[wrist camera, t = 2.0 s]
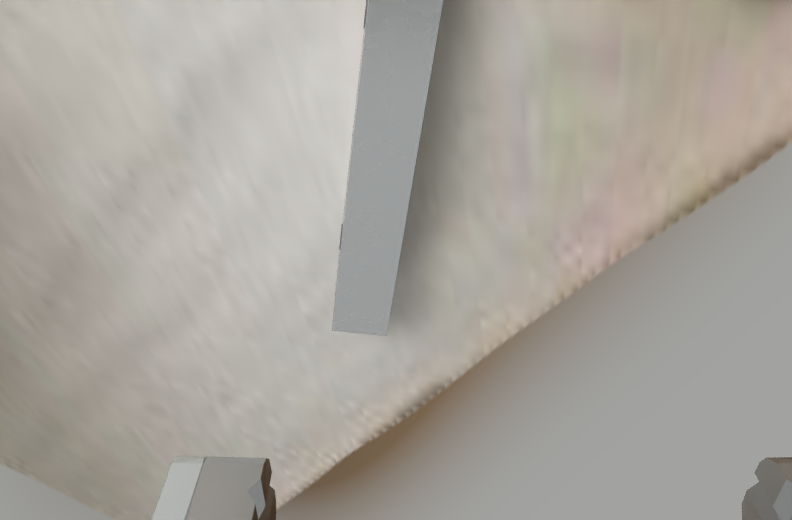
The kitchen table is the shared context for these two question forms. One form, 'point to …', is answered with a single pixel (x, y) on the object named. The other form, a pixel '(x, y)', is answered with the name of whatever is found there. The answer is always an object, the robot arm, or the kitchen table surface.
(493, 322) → the kitchen table surface
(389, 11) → the long grey beam
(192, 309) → the kitchen table surface
